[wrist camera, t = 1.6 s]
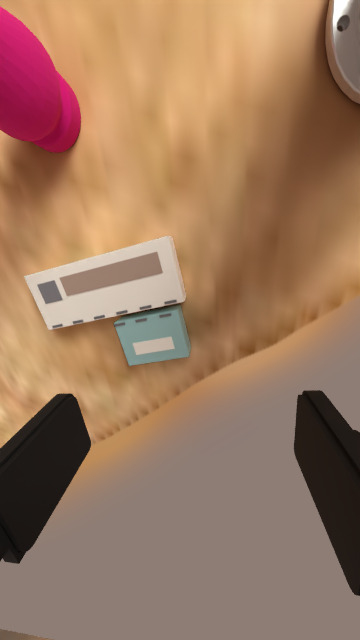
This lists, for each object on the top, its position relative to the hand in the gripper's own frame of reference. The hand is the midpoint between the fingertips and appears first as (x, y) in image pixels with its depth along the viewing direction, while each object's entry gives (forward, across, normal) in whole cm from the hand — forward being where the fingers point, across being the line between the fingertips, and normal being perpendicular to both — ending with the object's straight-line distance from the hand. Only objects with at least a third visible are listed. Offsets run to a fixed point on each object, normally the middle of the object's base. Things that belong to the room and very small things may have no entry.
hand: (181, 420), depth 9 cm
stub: (+18, +6, +3) cm, 19 cm away
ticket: (+18, +11, -4) cm, 21 cm away
